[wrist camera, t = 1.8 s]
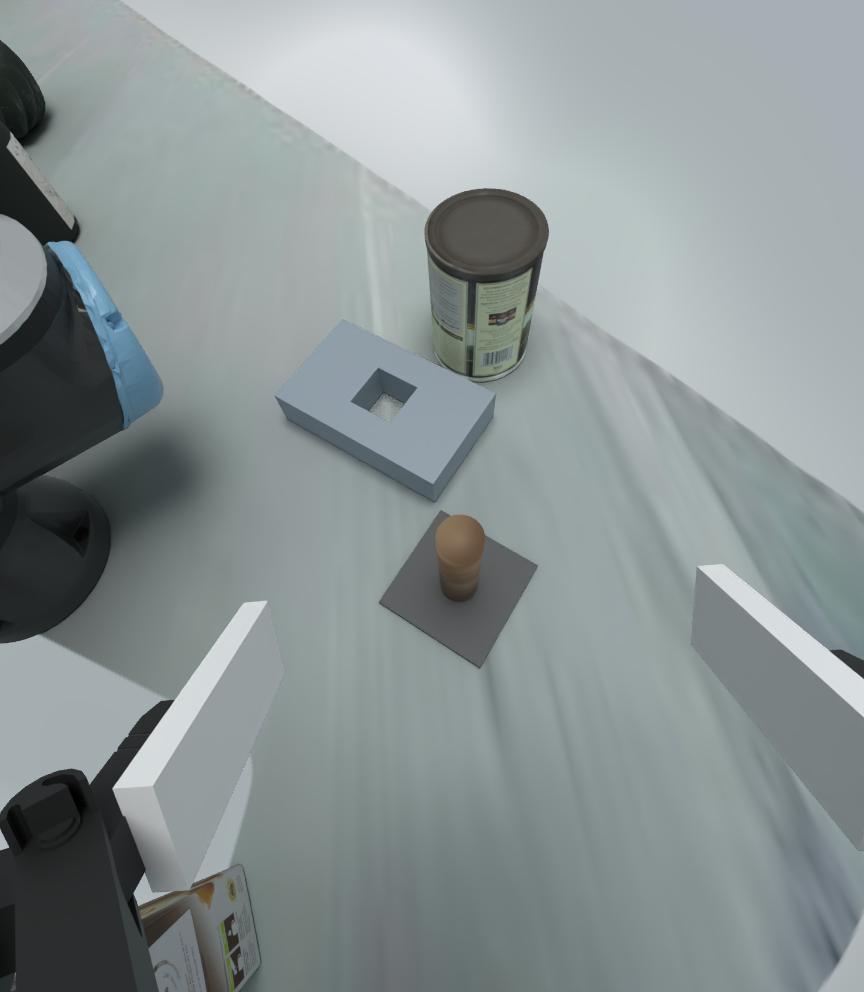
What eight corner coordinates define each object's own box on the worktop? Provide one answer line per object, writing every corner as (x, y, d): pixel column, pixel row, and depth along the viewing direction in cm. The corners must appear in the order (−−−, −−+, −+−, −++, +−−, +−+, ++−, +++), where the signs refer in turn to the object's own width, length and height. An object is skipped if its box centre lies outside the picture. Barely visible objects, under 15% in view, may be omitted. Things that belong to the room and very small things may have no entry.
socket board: (287, 418, 51) (274, 395, 48) (350, 345, 55) (342, 319, 51) (434, 502, 47) (432, 484, 43) (492, 416, 50) (496, 393, 47)
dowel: (433, 589, 43) (425, 545, 32) (453, 558, 44) (452, 506, 33) (465, 609, 42) (468, 571, 31) (484, 577, 43) (493, 530, 32)
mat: (379, 603, 43) (379, 601, 43) (441, 511, 46) (440, 510, 46) (479, 667, 41) (479, 667, 40) (537, 566, 44) (537, 565, 44)
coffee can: (478, 294, 57) (484, 171, 44) (546, 343, 54) (575, 226, 41) (412, 344, 55) (398, 229, 42) (479, 400, 51) (488, 293, 38)
